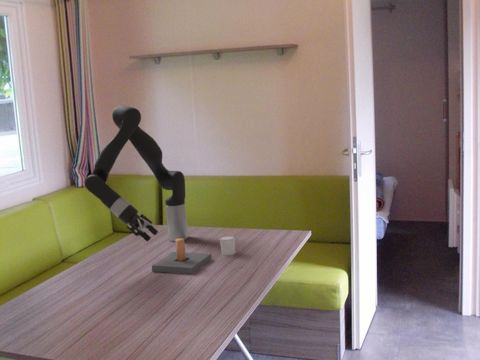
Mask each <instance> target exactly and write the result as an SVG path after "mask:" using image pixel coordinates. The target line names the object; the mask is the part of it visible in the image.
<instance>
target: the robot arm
mask: <svg viewBox="0 0 480 360" xmlns="http://www.w3.org/2000/svg"><path fill="white" fill-rule="evenodd" d="M111 117H112V121H113V124H115V125H116V127H117V128H118V129H119V130H118V132H117V133H116V134H115V136H114V137H112V139H111V140H110V141H109V142H108V143H107V144H106V145H105V146H104V147H103V148H102V149H101V151H100V153H99V155H98V156H97V159H96V161H95V162H94V168H93V171H92V173H91V174H89V175H88V176H86V177H85V180H84V187H85V189H86V190H87V191H88V192H89V193H91V194H92V195H93V196H95V197H96V198H97V199H99V200H100V201H101V203H102V204H103V205H104V206H105V207H106V208H107V209H109V210H110V211H111V213H112V214H113V215H115V217H117V218H118V219H119V220H120V222H122V223H123V224H124V225H126V228H127V229H128V230H129V231H130V232H131V233H132V234H133V235H135V236H136V237H138V236H139V237H141V238H143V240H145V241H146V242H149V241H150V240H151V238H152V237H151V236H150V235H149V234H148V233H146V231H144V229H147V230H148V231H149V232H150V233H152V234H153V236H156V235H157V234H158V233H159V230H158V229H156V228H155V227H154V226H153V221H151V220H150V218H148V217H147V216H146V215H144V213H141V214H140V215H138V213H139V210H138V209H137V208H136V207H134V206H133V205H132V204H131V203H130V202H129V201H127V199H125V198H123V197H122V196H121V195H120V194H119V193H118V192H116V191H115V190H114V189H112V188H111V187H110V186H109V184H107V181H108V178H109V175H110V172H111V171H112V169H113V167H114V165H115V163H116V161H117V158H118V156H119V155H120V153H121V152H122V150H123V149H124V147H125V145H127V143H128V142H129V141H130V144H132V146H133V147H134V149H135V150H136V151H137V153H138V155H140V157H141V158H142V159H143V161H144V162H145V163H146V165H147V166H148V167H149V169H150V171H151V172H152V173H153V175H154V177H155V179H156V181H157V182H158V184H159V186H160V187H161V189H163V190H166V191H172V193H171V194H172V195H171V196H169V197H166V198H165V202H164V204H165V210H166V211H165V213H166V223H167V233H168V234H167V235H168V240H169V241H171V242H176V241H175V240H176V239H179V238H183V239H184V241H185V240H187V239H188V238H189V230H188V219H187V213H186V212H187V211H186V203H185V202H186V201H185V200H186V179H185V175H184V173H183V172H182V171H179V170H168V169H167V168H166V167H165V165H164V164H163V150H162V149H161V147H160V146H159V144H158V143H157V142H156V140H155V139H154V138H153V137H152V136H151V135H149V134H148V132H146V131H145V130H143V129H142V128H141V127H140V126H139V125H140V123H141V120H142V114H141V112H140V110H139V109H137V108H135V107H132V106H127V105H119V106H115V108H114V109H113V110H112V114H111Z"/></svg>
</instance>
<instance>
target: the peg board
mask: <svg viewBox="0 0 480 360" xmlns="http://www.w3.org/2000/svg"><path fill="white" fill-rule="evenodd" d="M185 253H186V261H185V262H180V261H177V252H176V251H172V252H170V253H169V254H167V255H165V256H164V257H163V258H161V259H159V260H158V261H157V262H155V263H153V264H152V265H151V271H152V272H156V273H173V274H185V275H187V274H188V275H193V274H194V273H196V272H197V271H198V270H200V269H201V268H202V267H203V266H205V265H206V264H208V263H209V262H210V261H212V253H204V252H185Z"/></svg>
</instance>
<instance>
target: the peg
mask: <svg viewBox="0 0 480 360" xmlns="http://www.w3.org/2000/svg"><path fill="white" fill-rule="evenodd" d="M174 242H175V249H176V251H175V252H177V261H180V262H185V261H186V253H187V252H186V245H185V244H186V243H185V240H184V239H183V238H179V239H176V240H175V241H174Z"/></svg>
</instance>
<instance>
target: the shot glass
mask: <svg viewBox="0 0 480 360" xmlns="http://www.w3.org/2000/svg"><path fill="white" fill-rule="evenodd" d="M219 244H220V249H221V254H222V256H225V257H226V256H227V257H228V256H234V255H235V254H236V237H235V236H232V235H224V236H221V237H219Z"/></svg>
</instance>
